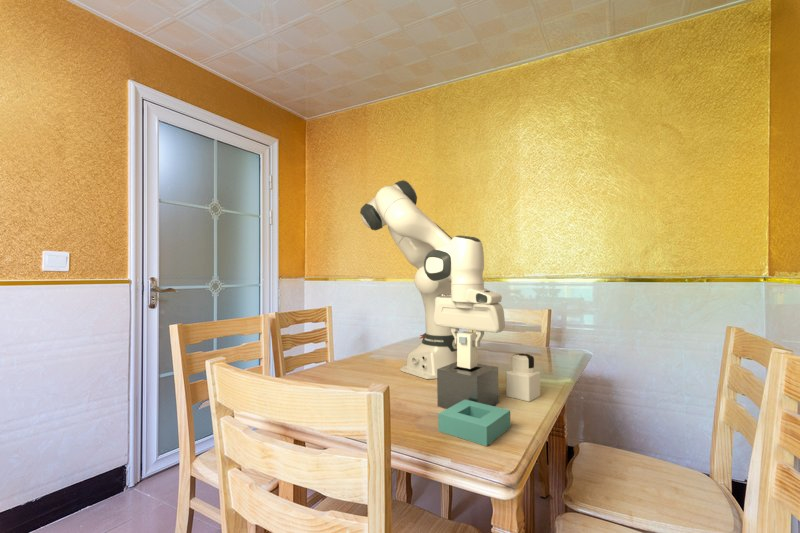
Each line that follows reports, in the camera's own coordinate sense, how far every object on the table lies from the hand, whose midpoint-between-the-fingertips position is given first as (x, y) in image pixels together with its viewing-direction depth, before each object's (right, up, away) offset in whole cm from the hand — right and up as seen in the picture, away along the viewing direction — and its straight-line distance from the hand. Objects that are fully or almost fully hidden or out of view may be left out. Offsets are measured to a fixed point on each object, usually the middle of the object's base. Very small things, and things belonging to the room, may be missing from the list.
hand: (467, 345), depth 103 cm
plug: (0, -6, 0) cm, 6 cm away
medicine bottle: (+17, -16, +6) cm, 25 cm away
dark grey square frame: (0, -16, 0) cm, 16 cm away
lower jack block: (-1, -16, -16) cm, 23 cm away
